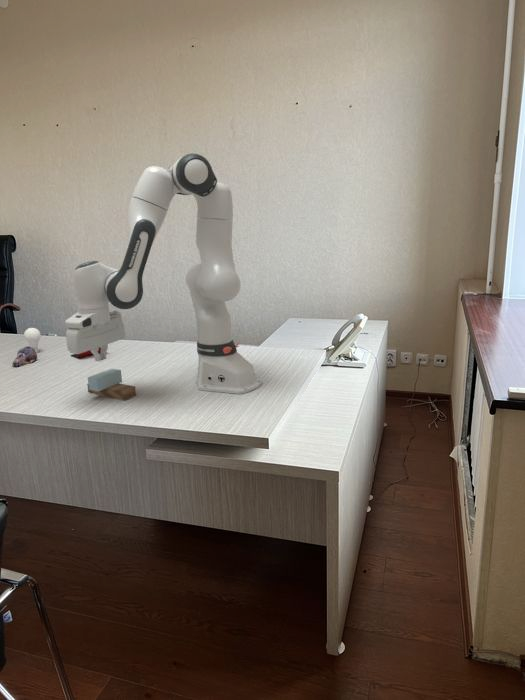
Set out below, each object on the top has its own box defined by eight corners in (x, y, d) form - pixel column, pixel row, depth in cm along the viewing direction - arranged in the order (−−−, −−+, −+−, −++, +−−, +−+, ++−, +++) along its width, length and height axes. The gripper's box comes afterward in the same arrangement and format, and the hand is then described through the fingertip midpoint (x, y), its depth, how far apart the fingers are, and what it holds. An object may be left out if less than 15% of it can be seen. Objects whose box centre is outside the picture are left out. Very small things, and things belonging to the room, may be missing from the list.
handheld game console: (96, 351, 221) (94, 334, 219) (109, 355, 214) (107, 338, 212) (69, 357, 213) (67, 340, 211) (82, 362, 206) (79, 344, 204)
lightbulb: (39, 355, 215) (35, 329, 212) (23, 356, 216) (19, 329, 213) (45, 351, 221) (42, 325, 219) (30, 352, 222) (26, 326, 219)
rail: (136, 395, 166) (135, 386, 165) (124, 400, 162) (123, 391, 161) (100, 388, 174) (99, 379, 173) (88, 392, 170) (87, 383, 169)
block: (98, 391, 162) (122, 381, 170) (96, 379, 161) (121, 369, 169) (89, 389, 164) (113, 380, 172) (87, 377, 163) (112, 368, 171)
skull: (21, 369, 198) (19, 353, 196) (4, 368, 200) (1, 352, 198) (42, 360, 209) (40, 345, 208) (25, 359, 211) (23, 344, 210)
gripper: (112, 308, 170) (118, 350, 174) (60, 322, 153) (67, 368, 157) (127, 309, 167) (132, 352, 170) (74, 324, 150) (82, 371, 154)
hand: (100, 360), depth 163 cm, fingers closed
